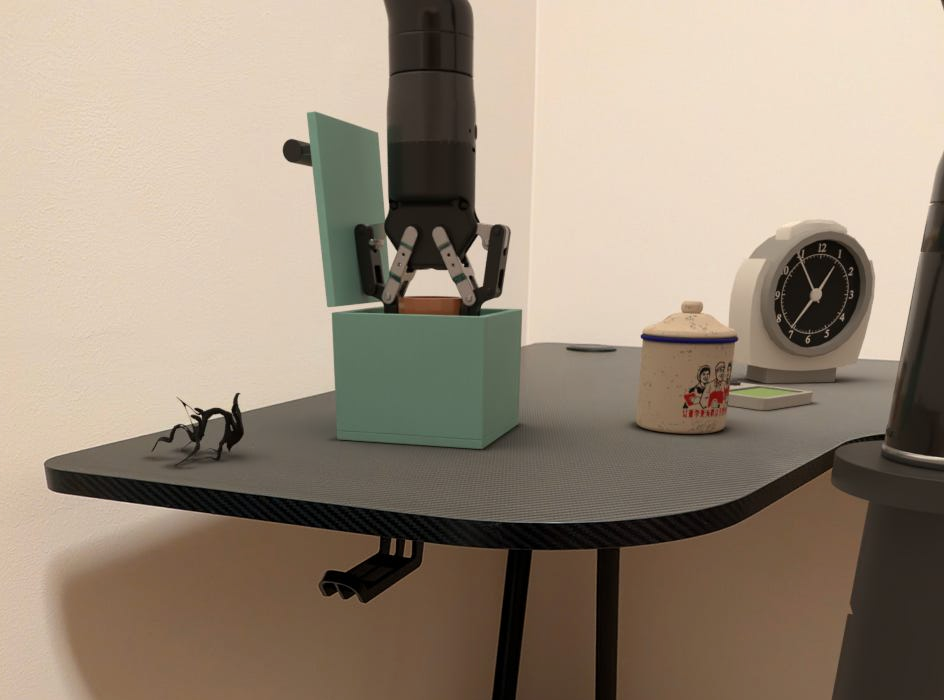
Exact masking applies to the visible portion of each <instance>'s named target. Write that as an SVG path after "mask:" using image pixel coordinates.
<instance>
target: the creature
mask: <svg viewBox="0 0 944 700" xmlns="http://www.w3.org/2000/svg"><path fill="white" fill-rule="evenodd" d="M240 395H241V393H240V392H236V393H235V395H234V397H233V401H232V405H231V409H230V411H231V412H230V411H228V410H226V409H223V408H221V407H212V408H209V409H206V410H203V409H202V408H199V407H194V408H192V406H190V405H188V404H187V403H186V402H185V401H183V400H182V399H181V398H180V397H177V396H176V398H177V399H178V400H179V401H180V403H181V404H182V405H183V407H184V409H185V411H186V413H187V414H189V412H188V410H187V408H186V407H188V408H189V409H190V410H192V412H193V413H194V414H190V415H189V416H188V418H189V419H190V420H189V421H190V423H191V427H192V430H191V429H190V428H188V426H187V425H185V424H182V423H178V424H175V425H174V426H173V427H172V429H171V430H170V433H169V437H168V436H160V437H159V438H158V439H157V440H156V442H155V444H154V446H153V448H152V449H151V451H150V452H151V453H153V452H154V450H155V448H156V447H157V445H158V443H159V442H164V443H168V444H171V443H173V440H174V439H175V433H176V431H177V430H178V429H183V430H185V432H186V433H187V435H188V437H189V440H190V441H189V442H188V443H187V444H186V445H184V447H183V448H181V449H180V450H181V452H190V453H189V454H188V455H187V456H186V457H185V458H184V459H182V460H181V461H179V462H177V463H175V464H174V465H173V466H174V467H176V466H178V465H180V464H182V463H184V462H188V461H192V460H195V461H196V460H197V461H199V460H200V461H201V460H202V458H199V459H197V458H192V456H194V455H196V454H197V453H200V452H202V450H200V449H201V441H202V440H203V437H205V433H206V428H207V425H208V421H209V419H210V418H211V417H213V416H214V415H215V416H216V415H220V416H222V417H224V422H225V424H224V432H223V437H222V438H221V440H220V441H218V448H216V449H215V448H212V447H211V448H207V449H205V451H208V450H213V451H214V452H215V453H216V457H213V456H208V457H204V458H203V460H204V459H211V460H214V461H216V462H218V461H220V460H221V458H222V452H223V449H224V446H225V444H226V449H227V450H228V453H230V452H231V449H232V448H233V447H234V446H235V445H237V444H238V443H239V442H241V440H242V439H243V437H244V434H245V432H244V431H245V428H244V425H243V418H242V412H241V409H240V406H239V401H238V400H239V396H240ZM192 419H193V420H195V421H196V422H197V423H198V425H194V423H193V421H192ZM191 443H195V446H194V448H193V450H192V449H184V448H186V447H188V445H190V444H191ZM189 458H190V459H189Z"/></svg>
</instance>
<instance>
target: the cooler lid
mask: <svg viewBox="0 0 944 700" xmlns="http://www.w3.org/2000/svg"><path fill="white" fill-rule="evenodd" d="M306 120H307V129H308V139H309V142H307V141H302V140H300V139H299V140H298V139H294V138H289V139H287V140H286V141H284V143H283V146H282V155H283V157H284V159H285V160H286V161H287V162H289V163H292V164H295V165H296V164H297V165H301V166H305V167H306V166H307V167H310V168H312V176H313V177H312V178H313V185H314V194H315V195H314V197H315V204H316V205H315V206H316V214H317V223H318V224H317V225H318V233H319V234H318V235H319V242H320V252H321V263H322V270H323V281H324V288H325V298H326V307H327V308H334V307H345V306H346V307H347V306H354V305H363V304H372V303H373V304H374V303H379V302H381V301H380V300H379V299H377V298H375V297H372V296H367V295H366V294H365V293H364V291H363V286H362V279H361V272H360V266H359V259H358V252H357V246H356V239H355V232H354V230H355V227H356V226H357V225H358V224H368V225H373V224H379V223H384V222H385V219H386V213H385V211H386V210H385V202H384V201H385V199H384V187H383V174H382V163H381V151H380V150H381V149H380V139H379V132H377V131H375V130H372V129H370V128H366V127H363V126H359V125H357V124H354V123H351V122H348V121H345V120H343V119H339V118H336V117H333V116H331V115H327V114H325V113H322V112H319V111H315V110H313V111H307V112H306ZM387 239H388V236H386V237H385V238H384V246H383V248H382V249H380V255H381V263H382V270H383V277H384V284H386V283H387V281H388V278H389V271H390V263H389V261H390V260H389V250H388V240H387ZM381 303H382V302H381Z"/></svg>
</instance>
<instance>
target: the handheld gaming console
mask: <svg viewBox="0 0 944 700" xmlns="http://www.w3.org/2000/svg"><path fill="white" fill-rule="evenodd" d="M813 394H814V392H813V390H812V391H811V390H806V389H805V390H804V389H796V388H788V387H781V386H771V385H764V384H757V383H756V384H755V383H748V382H747V383H746V382H740V381H738V380H737V379H731V381H730V389H729V398H728V406H729V407H736V408H743V409H749V410H756V411H770V410H771V411H772V410H777V409H784V408H791V407H796V406H802V405H809V404H812V400H813Z"/></svg>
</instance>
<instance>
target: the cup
mask: <svg viewBox="0 0 944 700" xmlns="http://www.w3.org/2000/svg"><path fill="white" fill-rule="evenodd" d="M460 307H463V301H462V298H461V296H455V295H454V296H452V295H404V296H401V297H398V314H417V315H452V316H460Z"/></svg>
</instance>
